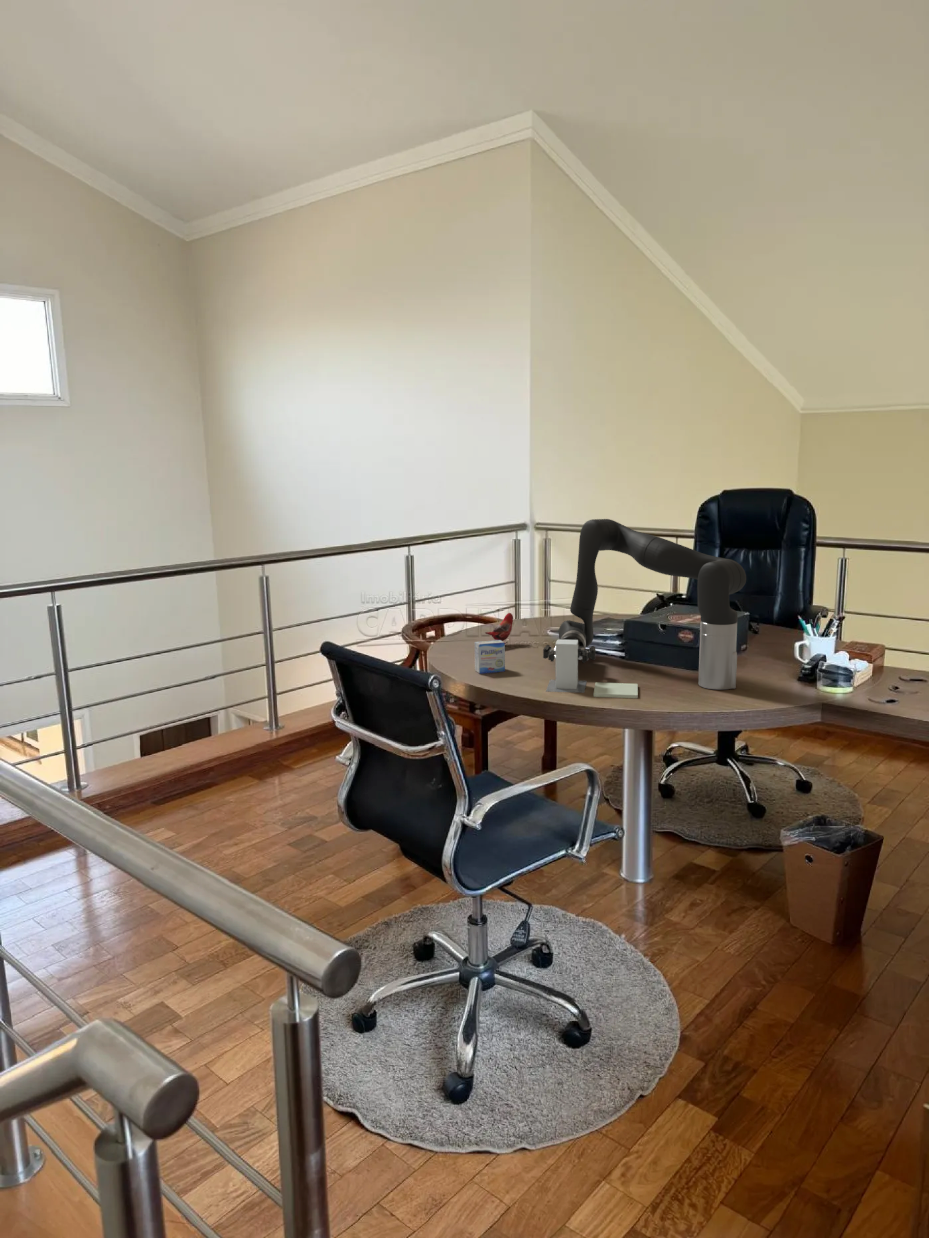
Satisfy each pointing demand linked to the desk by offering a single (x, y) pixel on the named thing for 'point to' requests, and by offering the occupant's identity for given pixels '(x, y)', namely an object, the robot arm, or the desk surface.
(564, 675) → the light grey block
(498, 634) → the decorative bird figurine
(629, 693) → the sage mat
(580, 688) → the tile
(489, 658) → the medicine box
